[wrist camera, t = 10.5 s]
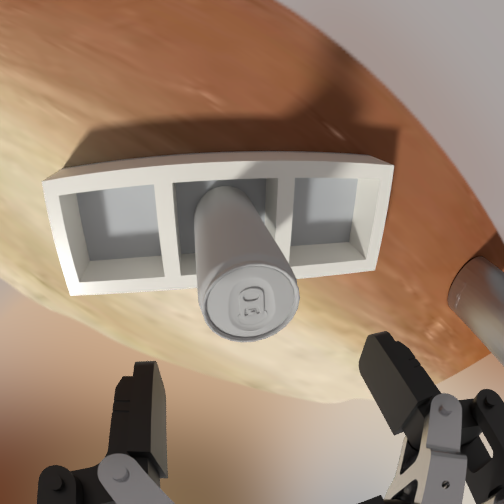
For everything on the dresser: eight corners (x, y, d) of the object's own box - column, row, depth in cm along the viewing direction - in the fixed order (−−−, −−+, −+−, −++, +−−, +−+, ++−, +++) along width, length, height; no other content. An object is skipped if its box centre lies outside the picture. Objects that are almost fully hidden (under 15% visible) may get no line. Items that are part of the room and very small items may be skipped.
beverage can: (197, 244, 25) (206, 350, 15) (189, 187, 23) (191, 268, 12) (255, 236, 26) (300, 335, 15) (252, 180, 23) (304, 253, 13)
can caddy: (368, 154, 25) (394, 165, 21) (354, 249, 29) (374, 270, 26) (62, 168, 20) (41, 181, 17) (83, 270, 25) (70, 295, 21)
